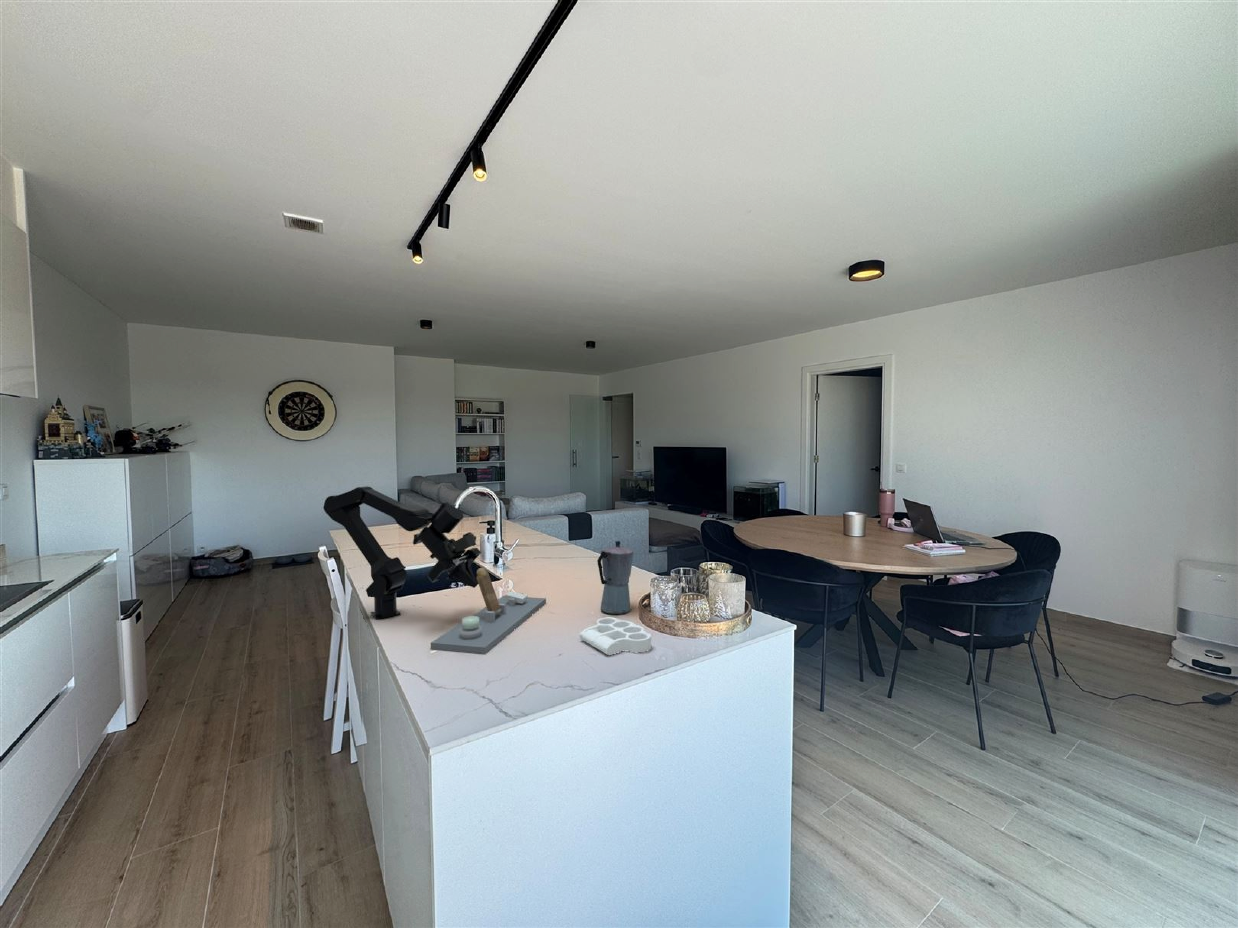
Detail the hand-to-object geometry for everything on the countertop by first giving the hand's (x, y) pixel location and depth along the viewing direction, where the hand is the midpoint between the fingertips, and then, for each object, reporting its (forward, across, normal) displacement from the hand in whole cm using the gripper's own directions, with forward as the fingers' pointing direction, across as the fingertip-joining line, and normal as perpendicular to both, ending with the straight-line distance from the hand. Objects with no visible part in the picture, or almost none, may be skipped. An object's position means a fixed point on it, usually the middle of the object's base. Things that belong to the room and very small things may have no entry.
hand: (476, 586), depth 134 cm
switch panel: (+11, 0, +3) cm, 11 cm away
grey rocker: (+9, +13, +1) cm, 16 cm away
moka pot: (+32, +16, -18) cm, 40 cm away
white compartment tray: (+36, -6, -21) cm, 42 cm away
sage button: (+8, -13, 0) cm, 15 cm away
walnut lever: (+9, 0, +1) cm, 9 cm away
